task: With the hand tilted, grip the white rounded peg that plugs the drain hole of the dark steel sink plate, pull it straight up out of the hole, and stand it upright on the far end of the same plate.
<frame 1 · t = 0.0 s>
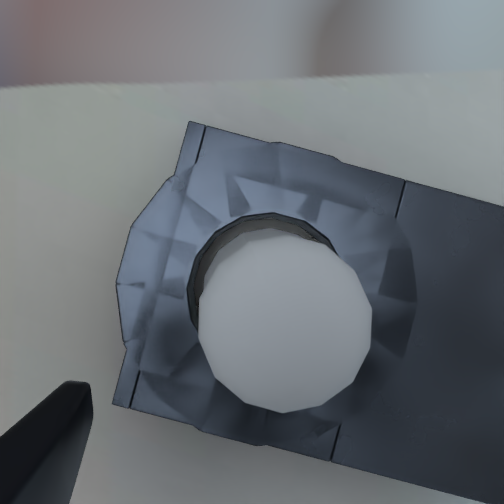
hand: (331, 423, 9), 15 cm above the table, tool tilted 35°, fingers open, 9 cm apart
sink plate: (394, 324, 24), on the table
white rounded peg: (265, 289, 24), resting in sink plate
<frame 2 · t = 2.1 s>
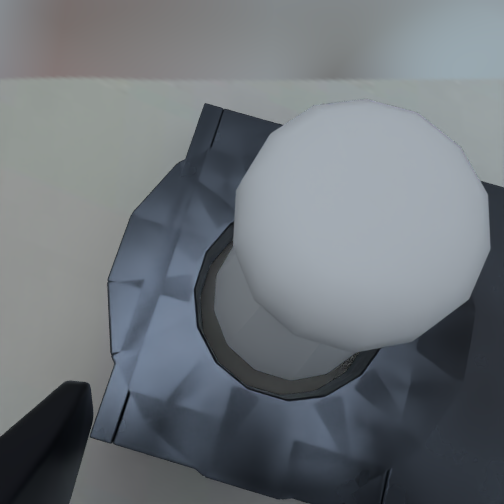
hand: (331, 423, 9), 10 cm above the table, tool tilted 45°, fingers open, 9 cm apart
sink plate: (441, 350, 20), on the table
white rounded peg: (285, 305, 20), resting in sink plate
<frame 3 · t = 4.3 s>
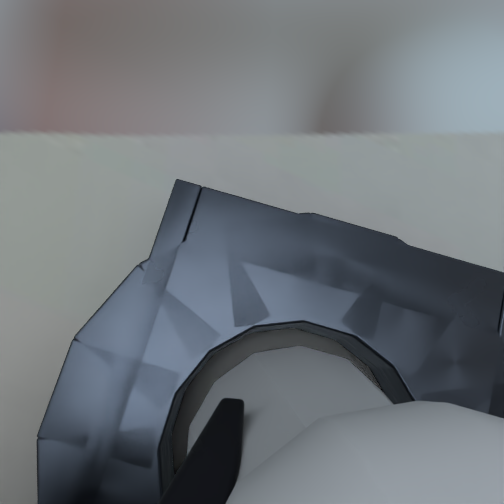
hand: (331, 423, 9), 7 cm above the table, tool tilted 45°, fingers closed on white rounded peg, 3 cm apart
white rounded peg: (285, 442, 15), resting in sink plate, touching gripper
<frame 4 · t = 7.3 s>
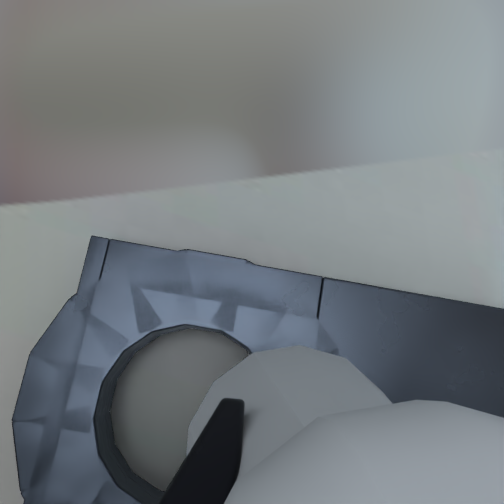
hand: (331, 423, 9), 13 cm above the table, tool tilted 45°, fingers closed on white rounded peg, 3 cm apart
sink plate: (336, 434, 21), on the table
white rounded peg: (284, 441, 15), point 6 cm above the table, touching gripper
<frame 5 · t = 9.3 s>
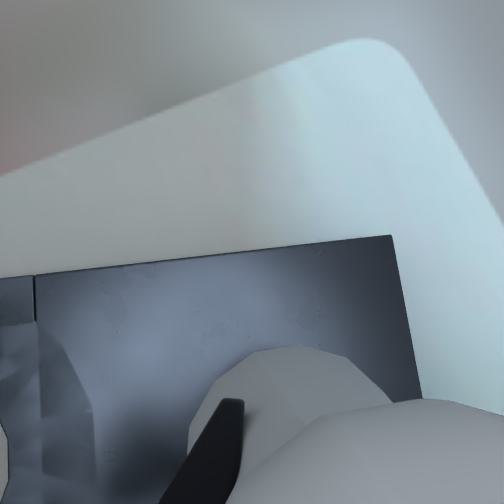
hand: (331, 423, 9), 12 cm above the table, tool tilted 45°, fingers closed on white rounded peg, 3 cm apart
sink plate: (113, 436, 19), on the table
white rounded peg: (285, 441, 15), point 5 cm above the table, touching gripper
when the fingers open (9 cm above the table, at t = 10.4 s): white rounded peg stays where it is, resting on sink plate.
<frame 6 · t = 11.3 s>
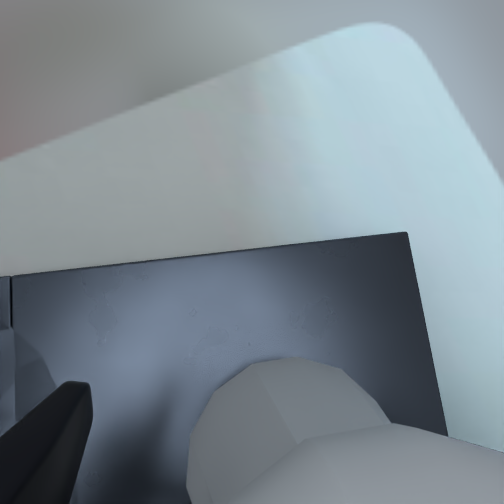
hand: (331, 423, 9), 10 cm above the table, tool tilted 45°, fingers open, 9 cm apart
sink plate: (99, 454, 18), on the table
white rounded peg: (283, 448, 16), point 2 cm above the table, touching sink plate
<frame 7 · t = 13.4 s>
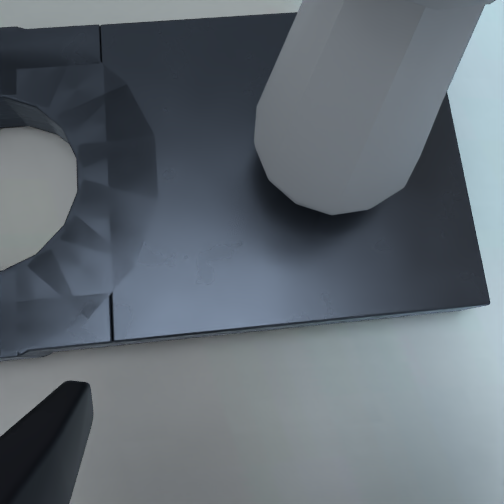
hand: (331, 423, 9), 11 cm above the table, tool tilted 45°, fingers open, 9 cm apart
sink plate: (166, 189, 21), on the table
white rounded peg: (323, 161, 19), point 2 cm above the table, touching sink plate
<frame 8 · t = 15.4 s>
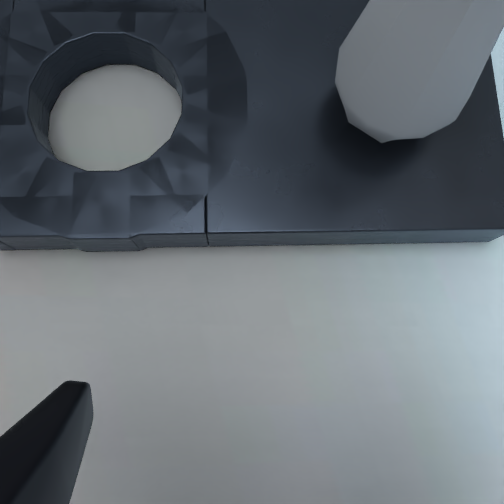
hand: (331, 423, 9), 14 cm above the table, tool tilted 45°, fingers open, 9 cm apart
sink plate: (246, 124, 25), on the table
white rounded peg: (384, 105, 23), point 2 cm above the table, touching sink plate
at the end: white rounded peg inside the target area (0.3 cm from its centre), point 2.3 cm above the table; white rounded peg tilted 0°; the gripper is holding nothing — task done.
